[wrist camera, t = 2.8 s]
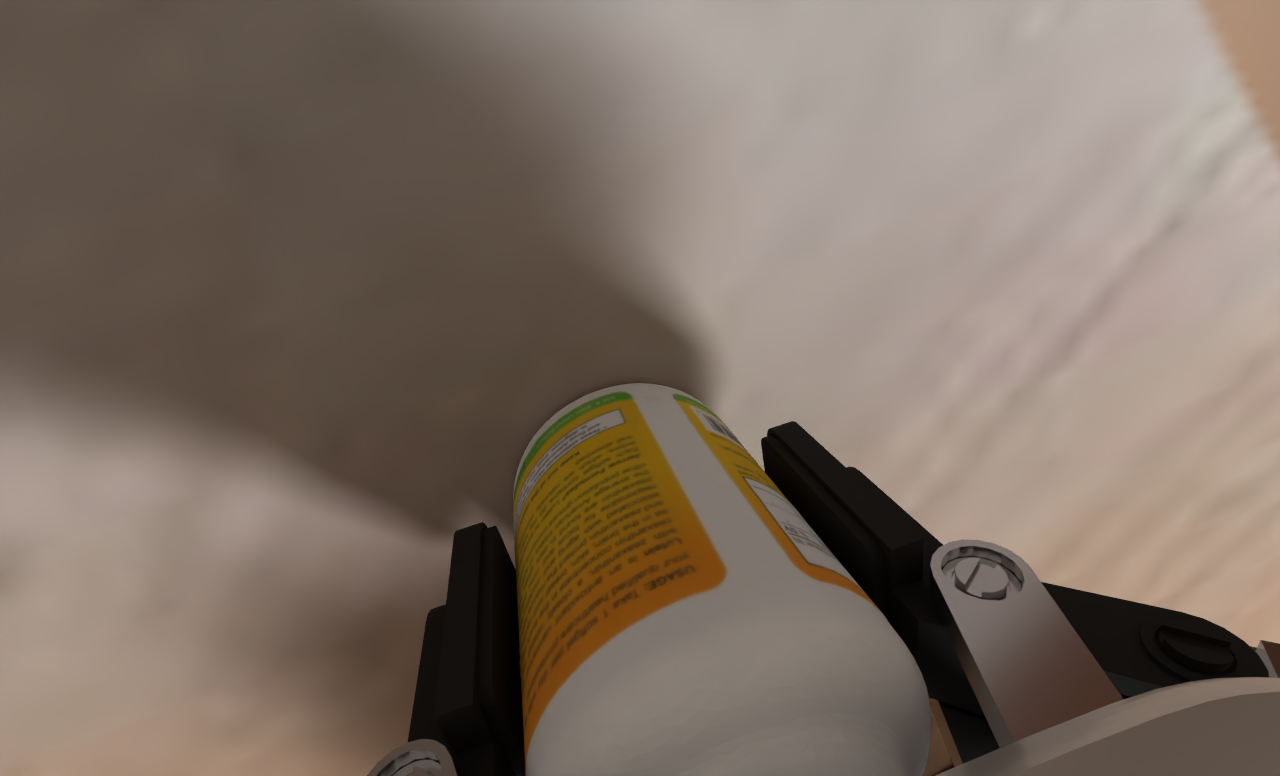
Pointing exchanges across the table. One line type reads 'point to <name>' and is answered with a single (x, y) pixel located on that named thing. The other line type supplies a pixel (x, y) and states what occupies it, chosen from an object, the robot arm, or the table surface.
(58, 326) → the table surface
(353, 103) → the table surface
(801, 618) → the supplement bottle
